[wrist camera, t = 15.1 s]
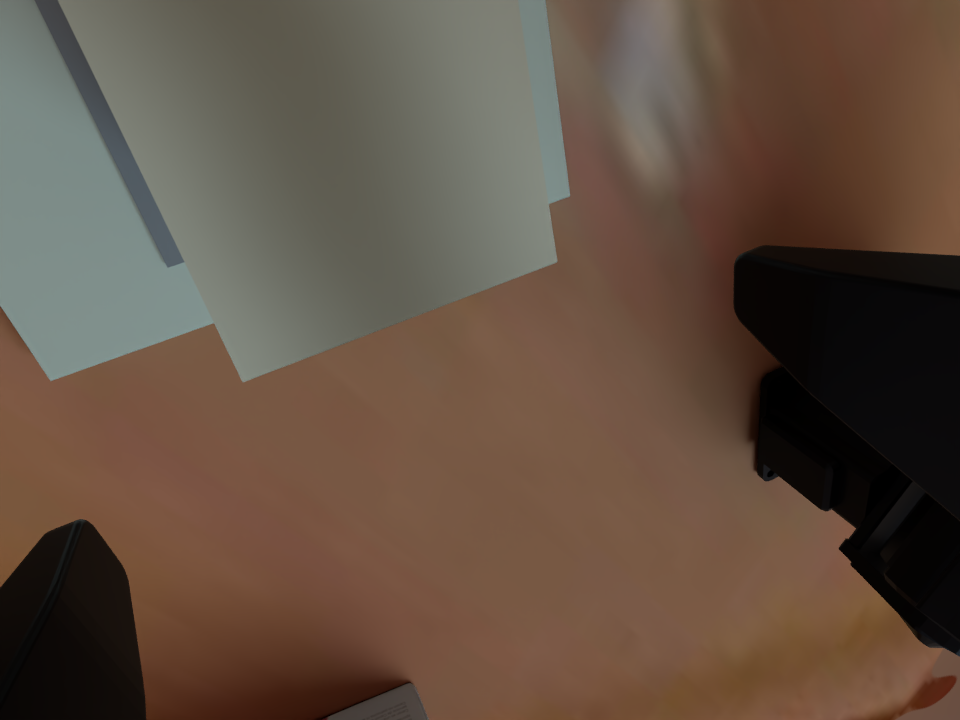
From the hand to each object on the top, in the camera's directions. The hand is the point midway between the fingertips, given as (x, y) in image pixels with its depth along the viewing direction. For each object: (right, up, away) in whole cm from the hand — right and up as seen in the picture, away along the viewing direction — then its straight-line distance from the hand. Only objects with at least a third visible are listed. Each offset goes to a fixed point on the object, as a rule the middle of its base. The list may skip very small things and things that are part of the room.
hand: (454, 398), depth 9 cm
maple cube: (-3, +5, +4) cm, 7 cm away
